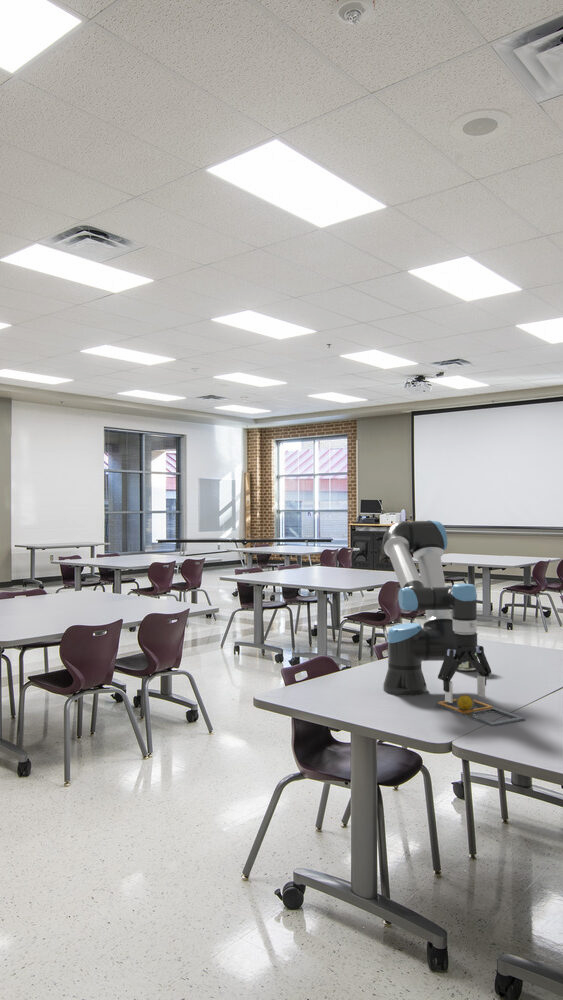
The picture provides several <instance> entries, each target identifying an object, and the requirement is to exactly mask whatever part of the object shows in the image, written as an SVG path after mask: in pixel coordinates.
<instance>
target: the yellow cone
mask: <svg viewBox="0 0 563 1000" xmlns="http://www.w3.org/2000/svg"><path fill="white" fill-rule="evenodd" d="M456 699H457V702H456V703H457V704H456V707H457V708H458V709H460V710H463V711H465V710H471V709H474V707H475V705H474V700H475V699H473V697H472V696H471V695H469V694H468V693H467V694H466V693H462V694H461V695H459V696H458V697H457V698H456Z"/></svg>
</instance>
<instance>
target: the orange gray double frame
mask: <svg viewBox="0 0 563 1000" xmlns="http://www.w3.org/2000/svg"><path fill="white" fill-rule="evenodd" d="M473 700H474V706H475V705H477V706H476V707H477V708H473V709H471V710H465V711H463V710H460V709H459V708H458V707H455V706H454V705H457V703H456V702H457V698H453V703H449V702H447V701H445V700H442V701H437V702H435V707H438V708H441V709H444V710H447V711H448V712H452V713H454V714H457V713H458V715H460V714H461V715H460V716H462V717H465V716H467V717H466V718H468V717H469V718H468V719H471V718H472V719H471V720H474V719H475V720H474V721H476V720H477V721H476V722H479V721H480V722H479V723H482V724H486V725H488V726H490V725H491V727H496V726H497V727H498V726H502V725H507V724H512V723H519V722H524V721H526V718H525V717H523V716H520V715H517V714H514V713H511V712H509V711H506V710H503V709H500V708H497V707H494V706H492V705H491V704H487V703H484V702H481V701H478V700H476V699H473ZM478 706H479V707H478ZM481 707H482V708H481ZM489 711H494V712H493V713H497V714H500V715H501V716H502V715H503V716H505V717H508V719H501V720H498V721H490V720H487V719H484V718H482V717H479V716H477V715H479V714H478V713H482V714H485V713H484V712H488V713H490V712H489ZM473 714H476V715H473Z"/></svg>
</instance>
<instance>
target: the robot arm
mask: <svg viewBox="0 0 563 1000" xmlns="http://www.w3.org/2000/svg"><path fill="white" fill-rule="evenodd" d="M382 537H383V538H382V547H383V551H384V553H385V555H387V556H388V557H389V559H390V562H391V565H392V568H393V570H394V573H395V576H396V578H397V581H398V583H399V586H400V588H399V590H398V595H397V596H398V597H397V598H398V605H399V607H400V609H401V610H403V611H425V616H426V617H425V618H426V620H425V621H424V622H423V624H422V625H423V627H422V625H421V624H419V623H416V622H412V623H411V622H405V623H400V624H396V625H393V626H391V627H390V628H389V629H388V631H387V666H388V667H387V671H386V675H385V678H384V681H383V687H382V688H383V689H382V690H383V691H384V692H385V693H388V694H389V695H395V696H403V697H404V696H407V697H409V696H413V697H414V696H419V695H424V694H425V693H427V692H428V691H427V690H428V688H427V687H428V686H427V683H426V680H425V677H424V673H423V671H422V663H423V662H427V661H428V662H429V661H430V662H433V661H434V662H436V661H437V662H438V661H440V662H441V661H442V665H441V667H440V669H439V672H438V675H437V679H438V680H441V681H442V683H443V684H442V685H443V691H444V701H447V702H449V703H453V699H454V698H453V695H454V694H453V691H454V690H453V681H452V679H453V677H454V675H455V673H456V672H457V670H458V669H457V668H458V667H459V665H461V664H462V662H463V663H464V662H471V663H472V664H473V666H474V667H475V669H476V670H475V671H477V673H478V674H477V677H476V678H477V682H476V684H477V696H478V697H481V698H486V686H487V677H489V676H490V674H492V669H491V667H490V664H489V662H488V659H487V657H486V654H485V649H484V646H482V645H479V644H478V635H477V634H476V633H477V632H478V631H477V629H478V627H477V626H478V625H477V622H478V621H477V619H478V618H477V617H478V615H477V614H478V613H477V605H478V604H477V599H478V595H477V586H476V585H475V584H472V583H455V584H453V585H446V580H445V575H444V574H445V573H444V570H443V569H444V568H443V564H442V556H443V555H444V553H445V551H446V550H447V548H448V535H447V530H446V528H445V526H444V525H443V523H441V522H440V521H438V520H436V521H435V520H431V519H430V520H401V521H397V522H395V523H393V524H391V526H389V527H388V528H387V529H386V531H385V532H384V534H383V536H382ZM411 552H412V555H413V557H412V555H411ZM413 558H414V559H415V560H417V562H418V563H417V564H418V568H417V566H416V565H415V561H414V559H413ZM418 570H419V571H418ZM450 610H451V611H452V616H451V611H450ZM475 632H476V633H475ZM475 646H476V647H475ZM475 653H476V654H477V657H476V656H475Z"/></svg>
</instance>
